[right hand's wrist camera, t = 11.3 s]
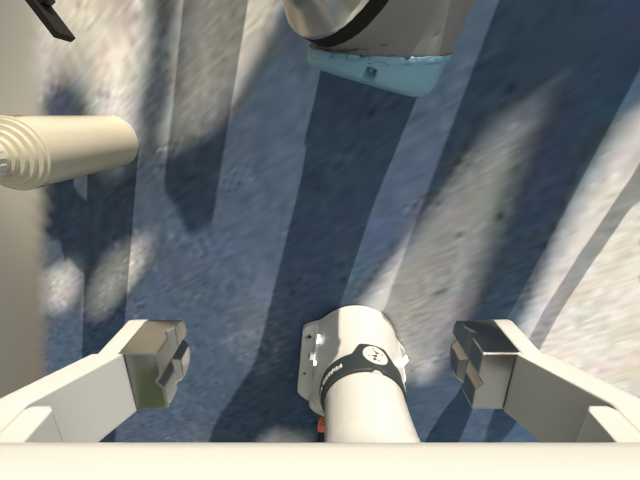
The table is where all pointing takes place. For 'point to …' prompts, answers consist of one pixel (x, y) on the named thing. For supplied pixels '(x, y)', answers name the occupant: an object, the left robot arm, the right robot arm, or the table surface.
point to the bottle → (63, 147)
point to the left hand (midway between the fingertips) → (23, 73)
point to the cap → (3, 163)
